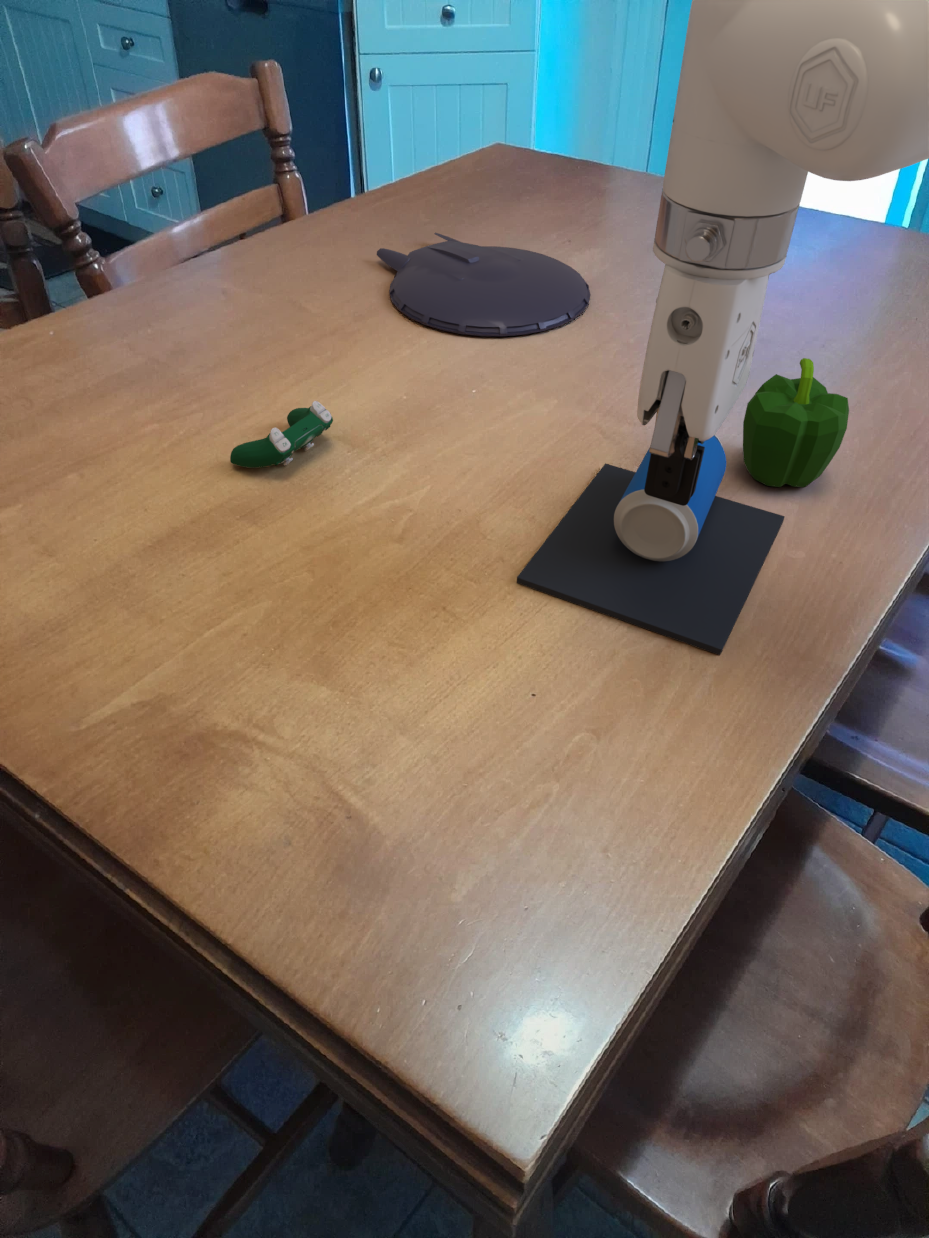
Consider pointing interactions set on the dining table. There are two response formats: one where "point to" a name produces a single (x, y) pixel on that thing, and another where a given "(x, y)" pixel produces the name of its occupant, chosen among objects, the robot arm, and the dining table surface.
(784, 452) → the bell pepper
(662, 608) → the mat
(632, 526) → the beverage can
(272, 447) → the gaming controller
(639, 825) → the dining table surface
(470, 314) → the toy spaceship
